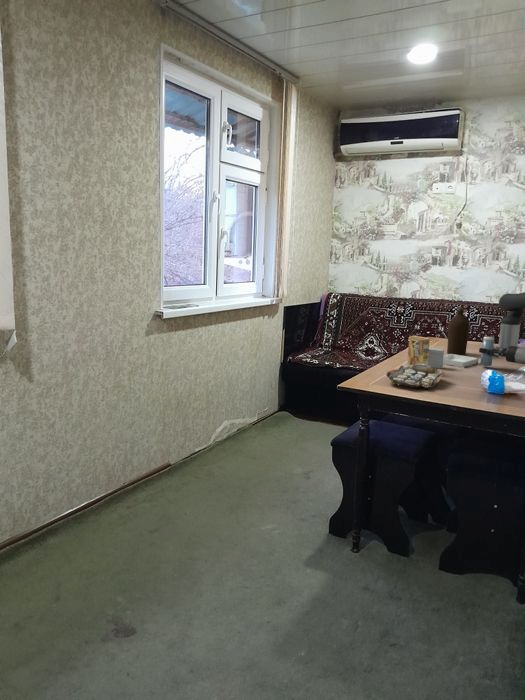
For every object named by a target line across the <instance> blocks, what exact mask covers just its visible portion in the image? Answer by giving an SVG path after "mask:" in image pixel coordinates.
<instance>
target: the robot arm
mask: <svg viewBox="0 0 525 700" xmlns="http://www.w3.org/2000/svg"><path fill="white" fill-rule="evenodd" d="M498 305H499V308H500V309H501V310H502V311H506V312H509V314H508V315H506V316H504V317H501V320H500V331H499V335H498V337H499V339H498V345H497V346H494V349H485V348H482V347H480V348H478V349H479V350H478V353H481V354H482V353H485V354H487V355H489V356H493V357H494V358H504V357H505V360H506V362H508V363H514V364H519V365H525V347H522V346H518V344H519V338H520V328H521V323H522V320H523V315H524V309H525V292H520V293H504V294H503V295H501V297H500V298H499V300H498ZM490 352H491V353H490Z"/></svg>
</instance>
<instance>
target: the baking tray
mask: <svg viewBox="0 0 525 700" xmlns="http://www.w3.org/2000/svg"><path fill="white" fill-rule="evenodd" d="M445 373H446V370H440V371H439V370H438V368H435V367H433V366H431V365H426V364H420V363H419V364H410V365H408V366H407V365H400V367H399V368H398V369H391V370H389V371H386V378H389V380H390V382H391V383H392V384H393V383H394V385H396V384H399V385H398V386H400V385H405V386H404V387H407V386H412V387H411V388H413V387H419V388H420V387H423V388H427V387H428V388H427V389H430V388H429V387H431V388H434V387H435V386H436V384H437V383H439V382H440V380H441V379H442V378H443V375H444V374H445ZM425 377H426V379H422V378H425ZM408 378H410V379H408ZM421 380H422V381H421Z"/></svg>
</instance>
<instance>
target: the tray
mask: <svg viewBox="0 0 525 700" xmlns="http://www.w3.org/2000/svg"><path fill="white" fill-rule="evenodd" d="M478 362H479V358H477V357H472V356H467V355H455V354H446V355H444V357H443V365H445V364H446V366H451V365H453V366H452V367H456V366H458V367H457V368H462V367H464V368H467V367H470V366H473V364H474V365H477V364H478ZM476 363H477V364H476ZM466 366H467V367H466Z"/></svg>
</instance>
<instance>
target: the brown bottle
mask: <svg viewBox="0 0 525 700" xmlns="http://www.w3.org/2000/svg"><path fill="white" fill-rule="evenodd" d="M464 309H465V308H464V307H460V306H459V307H457V310H456V315H454V316H453V317H452V318H451V319H450V320H449V322H448V326H447V327H448V328H447V331H448V332H447V347H446V351H447V355H449V354H455V355H461V356H466V353H467V347H468V339H469V333H470V328H471V327H470V325H471V324H470V321H469V320H468V319H467V318H466V316H465V315H464V311H465V310H464Z"/></svg>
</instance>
